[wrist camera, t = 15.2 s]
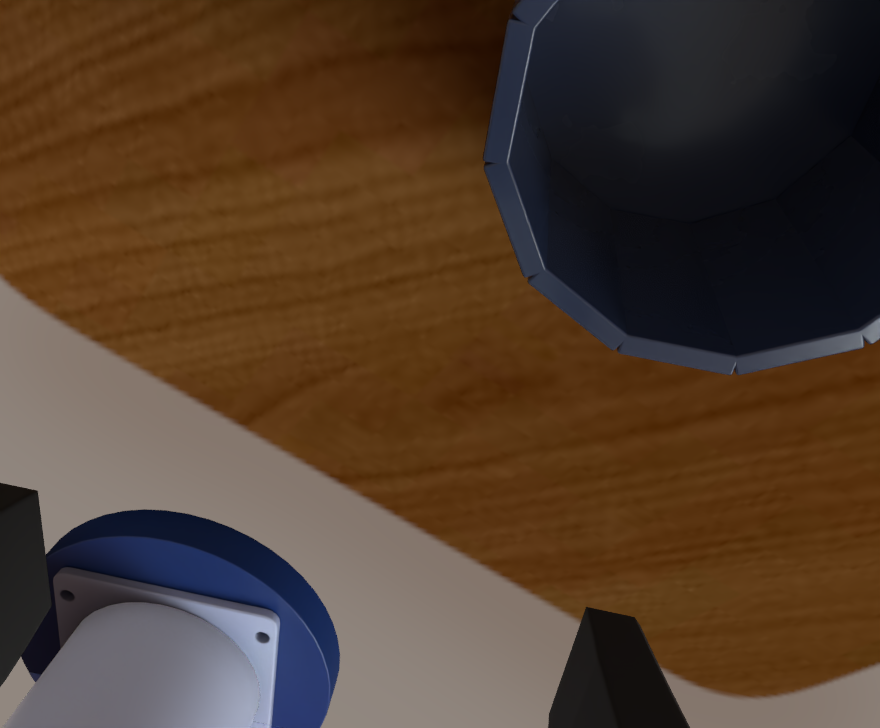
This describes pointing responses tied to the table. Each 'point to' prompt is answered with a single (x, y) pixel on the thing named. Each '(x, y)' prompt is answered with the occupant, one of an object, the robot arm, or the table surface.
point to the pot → (696, 173)
